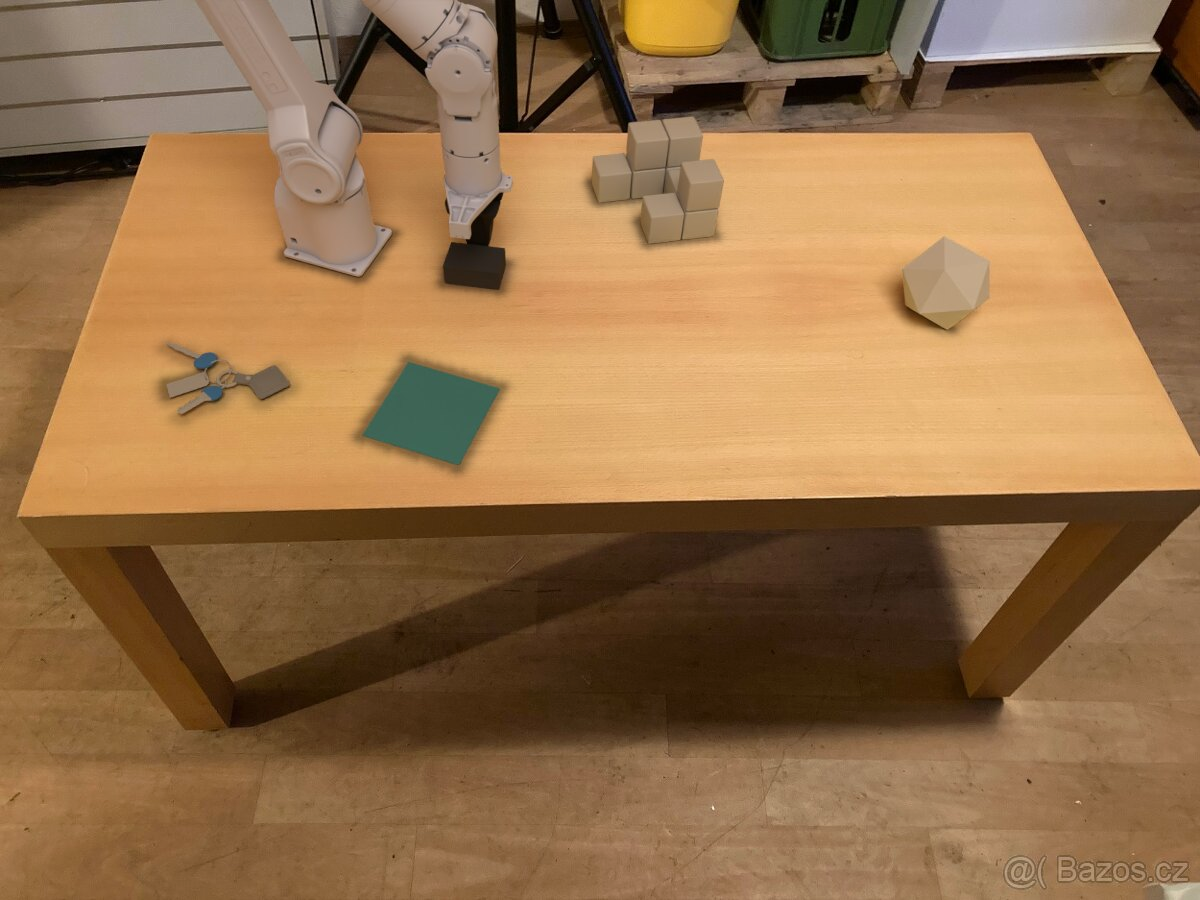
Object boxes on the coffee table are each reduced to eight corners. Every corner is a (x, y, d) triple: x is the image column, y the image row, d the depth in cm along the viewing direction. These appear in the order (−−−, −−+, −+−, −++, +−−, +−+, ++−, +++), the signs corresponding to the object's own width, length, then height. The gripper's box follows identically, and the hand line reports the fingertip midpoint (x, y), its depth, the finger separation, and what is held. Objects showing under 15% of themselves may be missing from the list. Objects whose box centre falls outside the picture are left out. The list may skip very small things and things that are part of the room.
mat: (362, 435, 87) (362, 435, 87) (408, 362, 92) (408, 361, 92) (459, 465, 85) (459, 465, 85) (500, 388, 91) (500, 388, 91)
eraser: (444, 283, 99) (442, 266, 97) (452, 258, 102) (450, 241, 100) (499, 290, 99) (498, 272, 97) (506, 265, 101) (505, 247, 99)
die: (989, 318, 100) (987, 225, 97) (991, 336, 93) (989, 237, 90) (907, 323, 104) (903, 234, 101) (903, 342, 96) (899, 246, 93)
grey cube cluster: (591, 182, 110) (593, 125, 104) (686, 172, 112) (694, 115, 106) (613, 248, 104) (617, 191, 97) (714, 236, 106) (724, 179, 99)
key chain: (298, 373, 91) (296, 367, 90) (260, 436, 86) (258, 431, 85) (170, 344, 92) (167, 338, 92) (125, 405, 87) (122, 399, 87)
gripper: (496, 191, 85) (502, 296, 96) (523, 102, 94) (526, 208, 105) (422, 182, 86) (437, 288, 97) (455, 95, 94) (466, 201, 105)
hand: (479, 246), depth 101 cm, fingers closed
